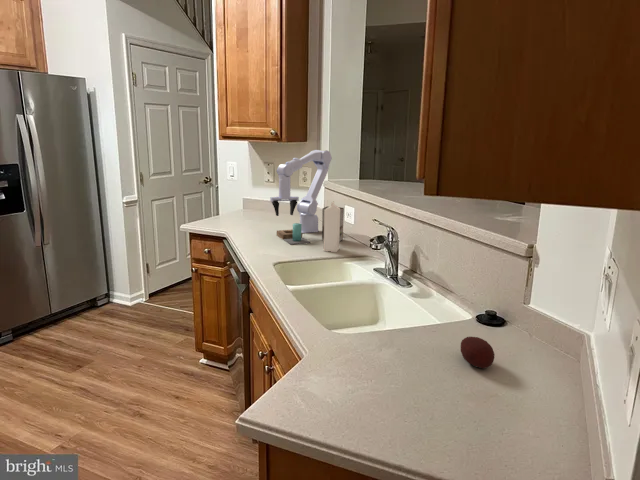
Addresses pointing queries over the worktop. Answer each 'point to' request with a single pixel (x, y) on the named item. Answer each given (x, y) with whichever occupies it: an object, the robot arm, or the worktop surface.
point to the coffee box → (340, 223)
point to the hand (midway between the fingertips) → (284, 215)
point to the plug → (297, 231)
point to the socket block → (285, 234)
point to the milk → (331, 228)
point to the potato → (477, 352)
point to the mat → (291, 242)
